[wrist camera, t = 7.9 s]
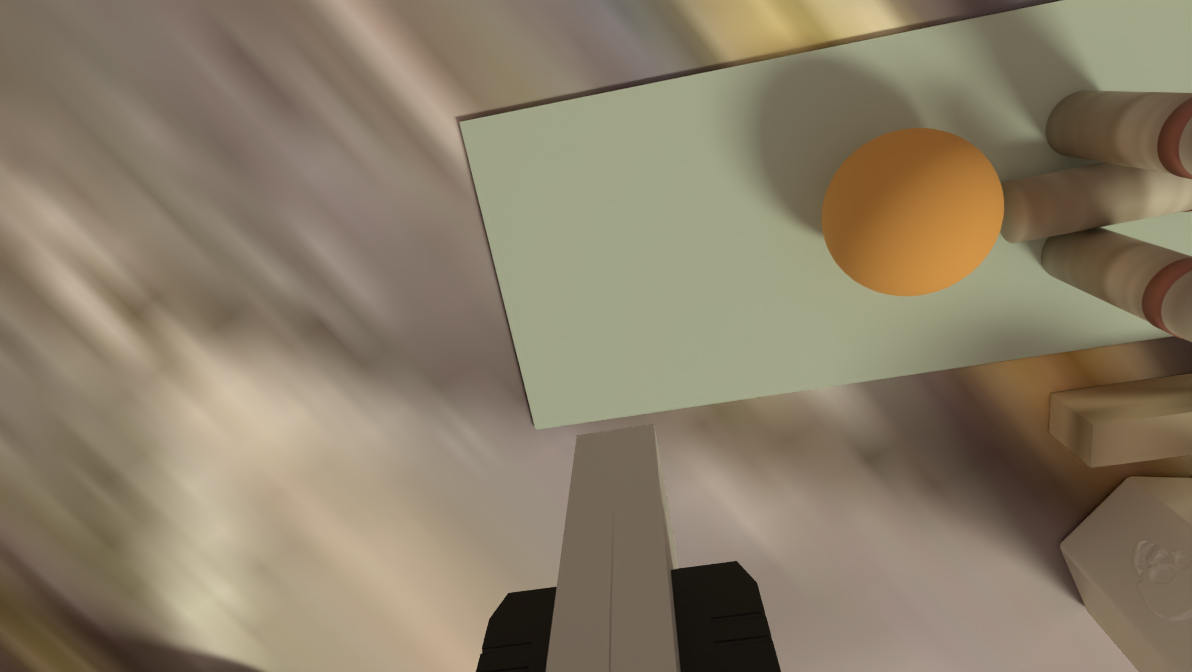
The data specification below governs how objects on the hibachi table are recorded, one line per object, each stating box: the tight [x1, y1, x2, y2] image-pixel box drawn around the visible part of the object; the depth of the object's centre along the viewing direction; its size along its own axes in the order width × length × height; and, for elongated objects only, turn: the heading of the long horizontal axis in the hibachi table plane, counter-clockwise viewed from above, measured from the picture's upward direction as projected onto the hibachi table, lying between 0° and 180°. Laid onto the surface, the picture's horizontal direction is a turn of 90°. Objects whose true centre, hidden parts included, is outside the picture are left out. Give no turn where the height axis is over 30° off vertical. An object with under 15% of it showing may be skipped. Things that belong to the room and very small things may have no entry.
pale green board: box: [459, 0, 1192, 430], centre depth 28 cm, size 32×14×1 cm, turn 101°
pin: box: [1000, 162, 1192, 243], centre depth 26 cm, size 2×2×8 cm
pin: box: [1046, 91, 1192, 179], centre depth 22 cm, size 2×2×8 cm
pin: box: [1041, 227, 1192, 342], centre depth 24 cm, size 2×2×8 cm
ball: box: [822, 128, 1004, 296], centre depth 25 cm, size 6×6×6 cm
